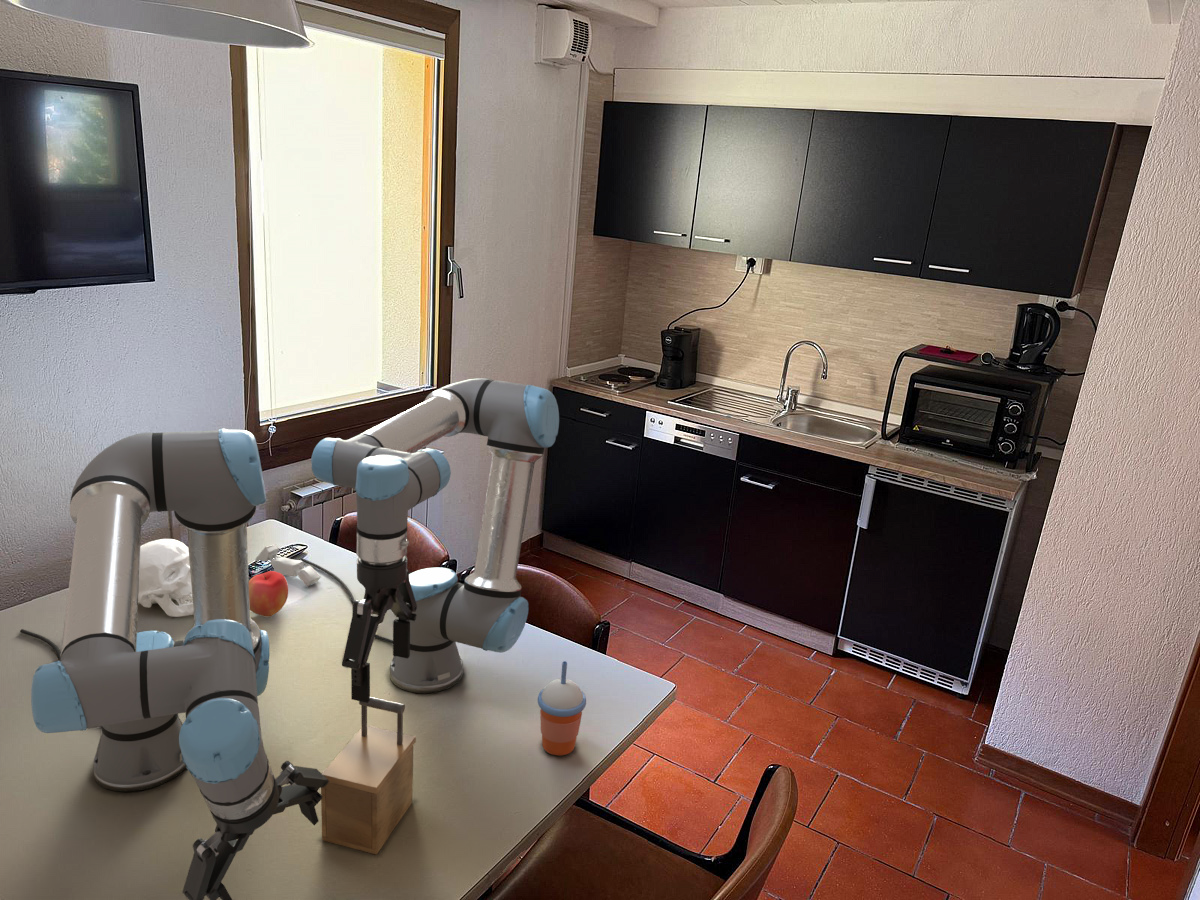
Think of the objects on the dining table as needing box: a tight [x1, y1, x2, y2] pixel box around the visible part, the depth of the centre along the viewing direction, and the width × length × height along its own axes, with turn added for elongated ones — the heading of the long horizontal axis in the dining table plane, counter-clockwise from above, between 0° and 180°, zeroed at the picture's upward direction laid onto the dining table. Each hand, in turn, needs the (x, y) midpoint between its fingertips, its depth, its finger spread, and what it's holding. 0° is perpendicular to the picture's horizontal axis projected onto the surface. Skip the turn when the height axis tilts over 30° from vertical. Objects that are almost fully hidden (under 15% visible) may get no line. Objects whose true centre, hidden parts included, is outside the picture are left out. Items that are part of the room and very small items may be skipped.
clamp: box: [254, 544, 322, 587], centre depth 219 cm, size 20×4×7 cm, turn 62°
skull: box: [138, 538, 194, 618], centre depth 200 cm, size 13×22×16 cm, turn 73°
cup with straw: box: [537, 660, 587, 756], centre depth 160 cm, size 9×9×18 cm
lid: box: [321, 696, 417, 794], centre depth 136 cm, size 14×10×9 cm
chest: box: [320, 745, 414, 855], centre depth 139 cm, size 13×10×11 cm
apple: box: [249, 570, 289, 618], centre depth 199 cm, size 10×10×10 cm
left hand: (269, 856), depth 115 cm, fingers open, 13 cm apart
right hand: (381, 677), depth 137 cm, fingers open, 13 cm apart
